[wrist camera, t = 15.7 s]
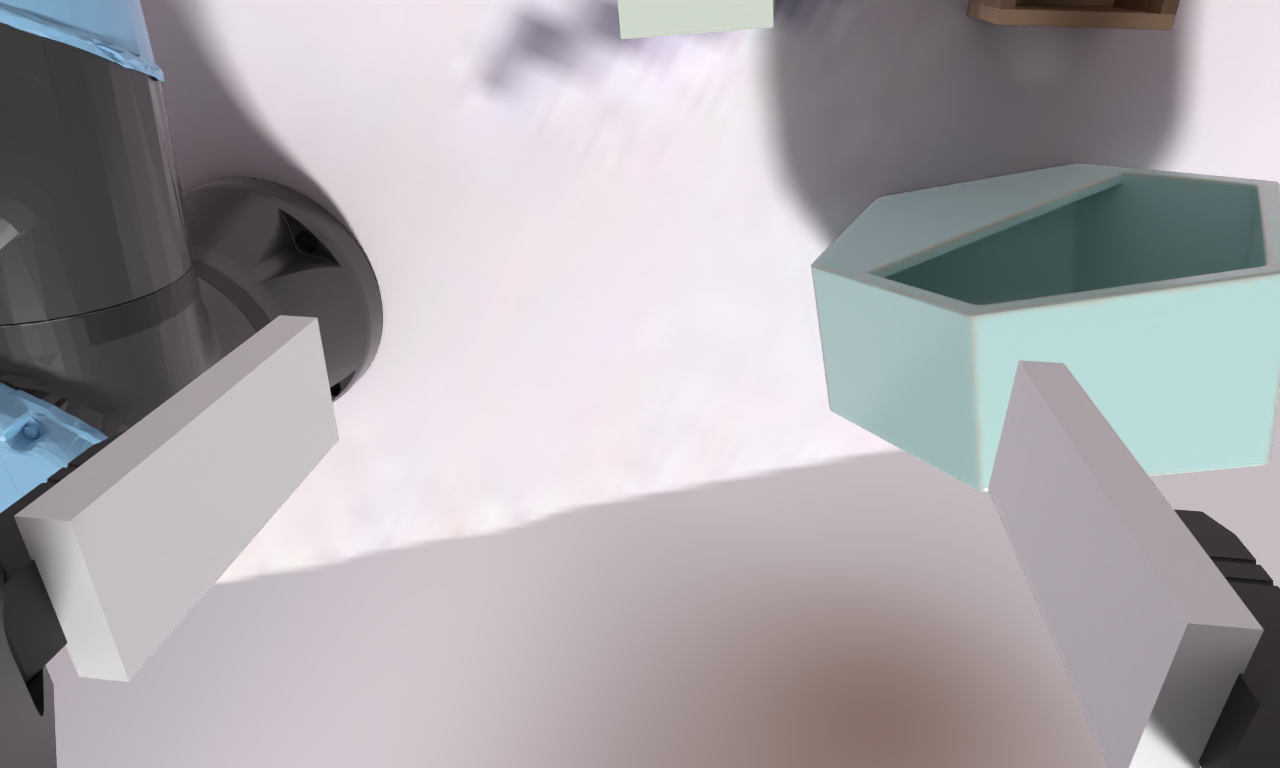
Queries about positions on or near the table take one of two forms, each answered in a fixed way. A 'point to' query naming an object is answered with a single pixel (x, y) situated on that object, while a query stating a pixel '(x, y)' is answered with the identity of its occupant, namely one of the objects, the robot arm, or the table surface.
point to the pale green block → (692, 16)
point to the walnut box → (1078, 13)
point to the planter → (1060, 312)
